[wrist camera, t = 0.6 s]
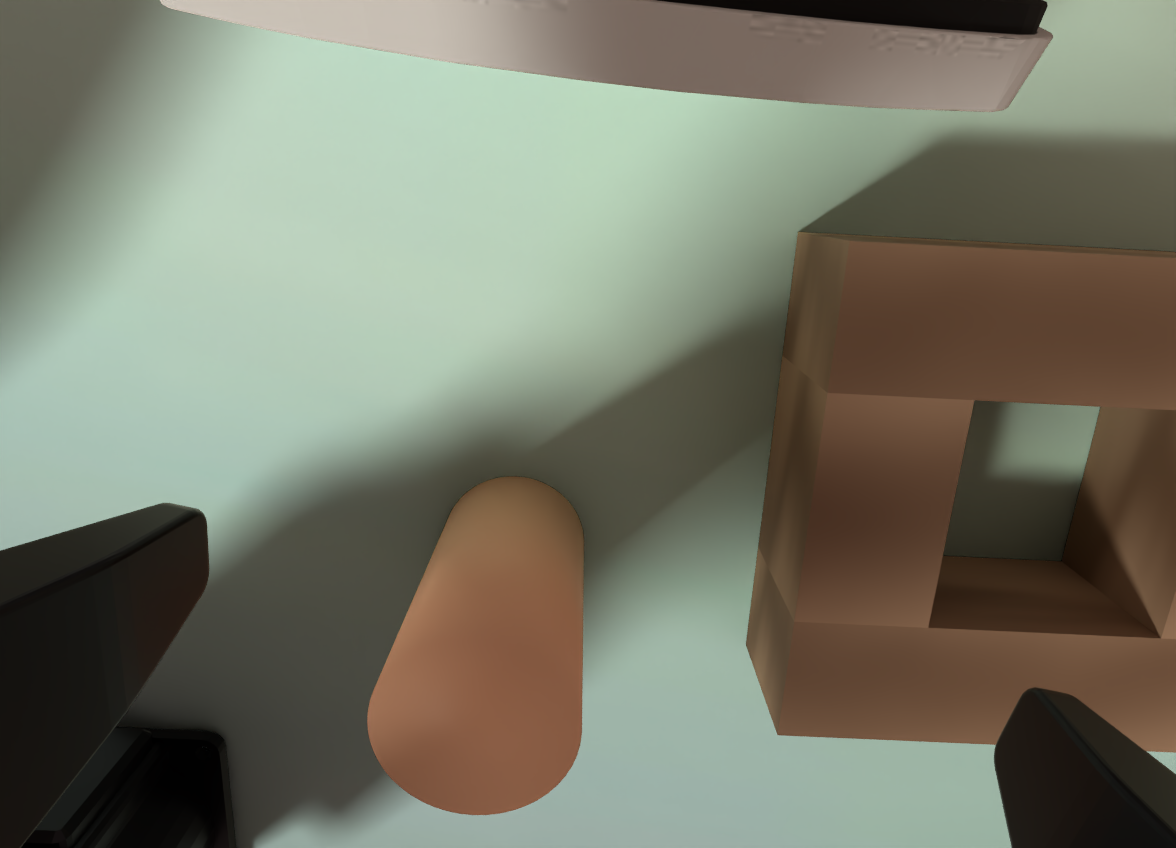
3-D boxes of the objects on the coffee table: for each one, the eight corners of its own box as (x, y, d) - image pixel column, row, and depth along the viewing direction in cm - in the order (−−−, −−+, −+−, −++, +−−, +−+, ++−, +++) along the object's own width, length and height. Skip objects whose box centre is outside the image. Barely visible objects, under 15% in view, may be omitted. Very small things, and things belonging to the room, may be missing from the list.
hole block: (1142, 662, 23) (1252, 756, 19) (745, 644, 23) (777, 735, 19) (1263, 256, 20) (1428, 271, 16) (798, 231, 19) (849, 241, 16)
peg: (580, 606, 23) (576, 818, 15) (444, 600, 22) (370, 810, 15) (587, 479, 21) (586, 639, 14) (444, 473, 21) (363, 628, 14)
